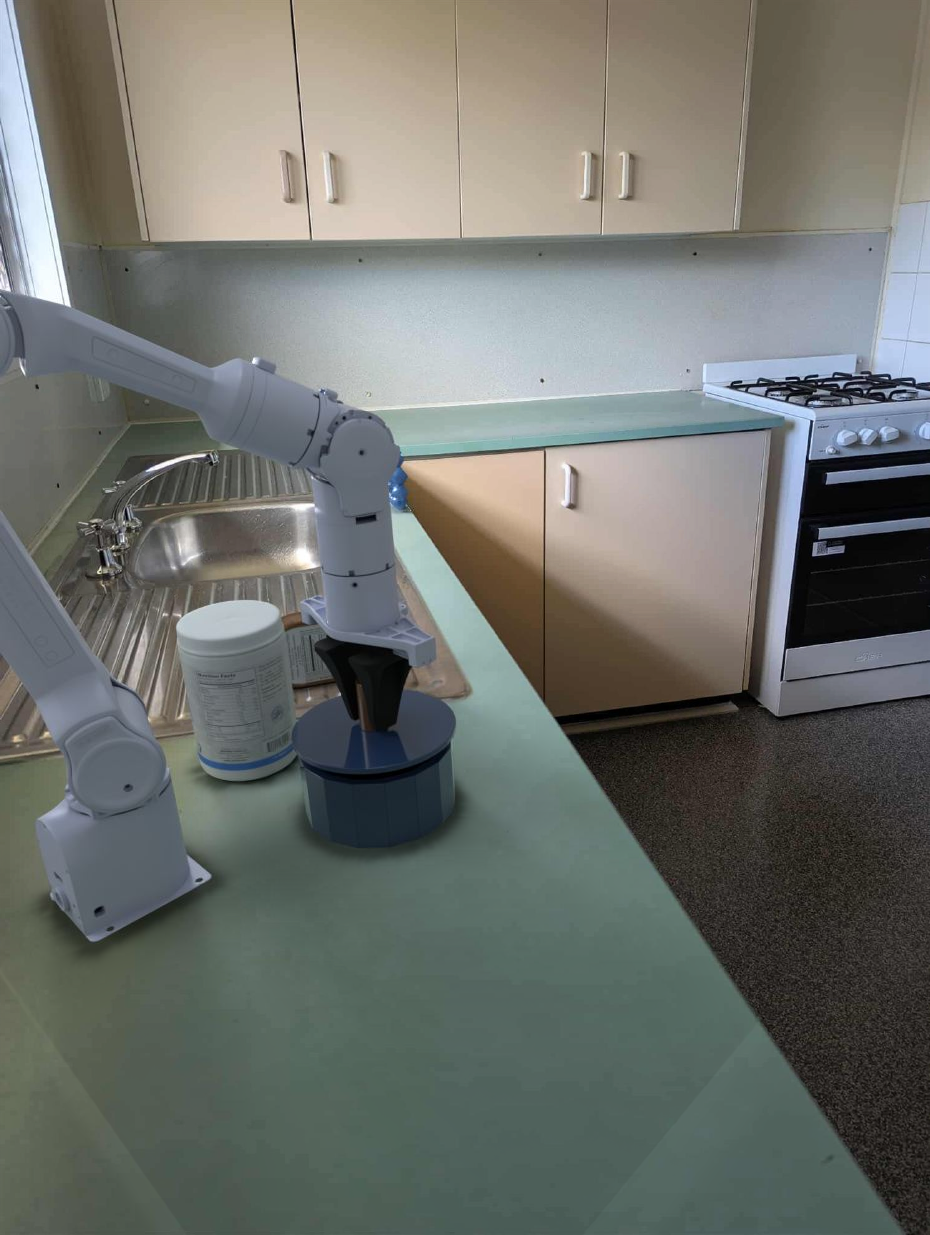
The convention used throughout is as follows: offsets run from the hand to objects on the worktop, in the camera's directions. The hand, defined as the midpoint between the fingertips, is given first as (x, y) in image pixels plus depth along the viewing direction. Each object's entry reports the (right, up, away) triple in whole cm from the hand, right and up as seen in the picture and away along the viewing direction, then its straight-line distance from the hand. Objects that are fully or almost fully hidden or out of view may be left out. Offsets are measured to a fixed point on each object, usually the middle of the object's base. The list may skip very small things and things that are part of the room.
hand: (373, 721), depth 72 cm
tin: (-7, +1, +28) cm, 29 cm away
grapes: (-6, +30, +98) cm, 103 cm away
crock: (0, -8, +3) cm, 8 cm away
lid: (0, -1, 0) cm, 1 cm away
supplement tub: (-13, -5, +12) cm, 18 cm away
